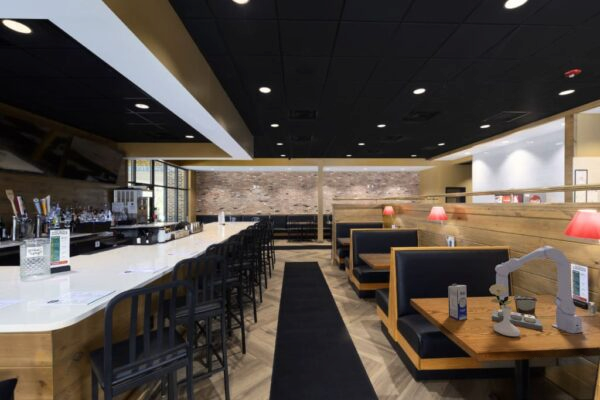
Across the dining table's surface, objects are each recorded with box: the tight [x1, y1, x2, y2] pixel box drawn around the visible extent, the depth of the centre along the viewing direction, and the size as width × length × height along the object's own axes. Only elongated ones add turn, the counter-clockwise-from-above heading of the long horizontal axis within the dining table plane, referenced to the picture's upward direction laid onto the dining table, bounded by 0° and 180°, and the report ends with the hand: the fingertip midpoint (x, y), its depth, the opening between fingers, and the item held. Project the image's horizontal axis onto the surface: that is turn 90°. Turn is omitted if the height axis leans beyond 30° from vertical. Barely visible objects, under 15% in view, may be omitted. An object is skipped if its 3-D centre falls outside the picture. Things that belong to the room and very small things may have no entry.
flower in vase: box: [488, 283, 521, 337], centre depth 143 cm, size 13×11×25 cm
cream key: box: [523, 314, 536, 323], centre depth 153 cm, size 4×4×2 cm
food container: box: [513, 294, 538, 315], centre depth 170 cm, size 12×6×10 cm, turn 84°
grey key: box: [510, 311, 522, 320], centre depth 157 cm, size 4×4×2 cm
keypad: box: [491, 309, 543, 331], centre depth 157 cm, size 22×11×2 cm, turn 51°
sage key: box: [497, 309, 504, 316], centre depth 160 cm, size 4×4×2 cm
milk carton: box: [447, 283, 468, 322], centre depth 163 cm, size 7×7×20 cm
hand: (502, 308), depth 161 cm, fingers closed
